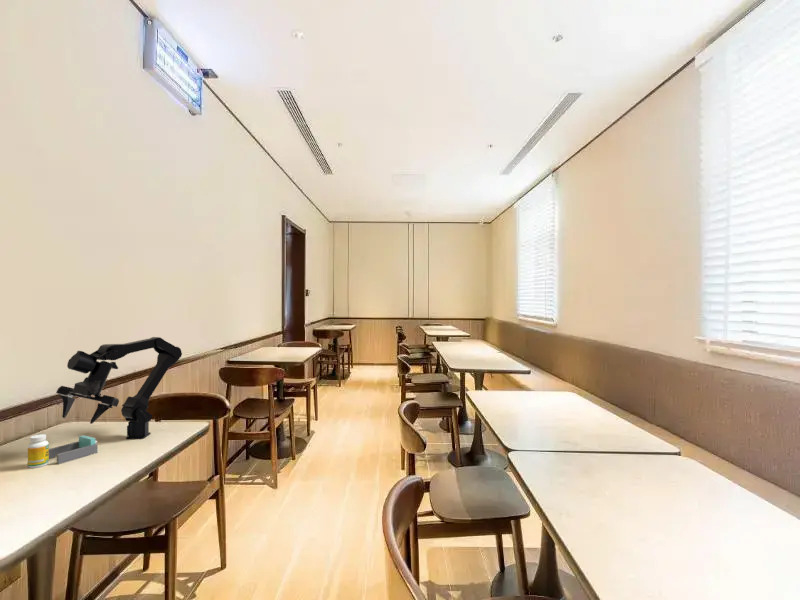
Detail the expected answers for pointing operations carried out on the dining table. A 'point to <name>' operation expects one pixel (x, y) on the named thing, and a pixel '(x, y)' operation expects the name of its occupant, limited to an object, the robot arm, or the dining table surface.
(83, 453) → the lane
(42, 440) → the supplement bottle
